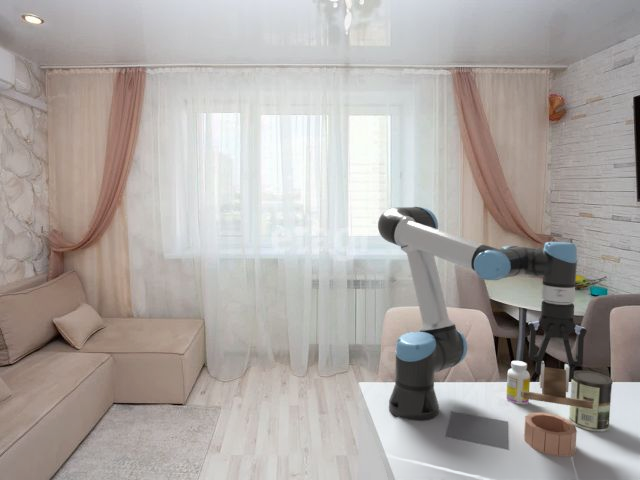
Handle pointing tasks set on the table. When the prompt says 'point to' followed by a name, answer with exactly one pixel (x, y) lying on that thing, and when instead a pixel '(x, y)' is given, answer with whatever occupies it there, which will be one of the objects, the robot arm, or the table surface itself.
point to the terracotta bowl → (550, 434)
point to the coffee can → (591, 400)
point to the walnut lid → (555, 390)
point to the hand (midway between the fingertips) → (553, 388)
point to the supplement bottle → (517, 382)
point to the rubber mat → (478, 430)
